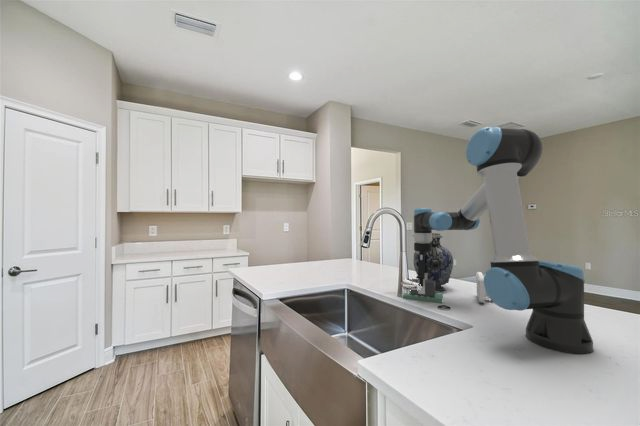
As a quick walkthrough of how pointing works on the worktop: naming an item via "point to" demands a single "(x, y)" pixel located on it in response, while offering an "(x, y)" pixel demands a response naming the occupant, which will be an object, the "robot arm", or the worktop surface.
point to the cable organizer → (481, 288)
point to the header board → (424, 297)
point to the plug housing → (426, 289)
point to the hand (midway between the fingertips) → (422, 290)
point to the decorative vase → (437, 263)
